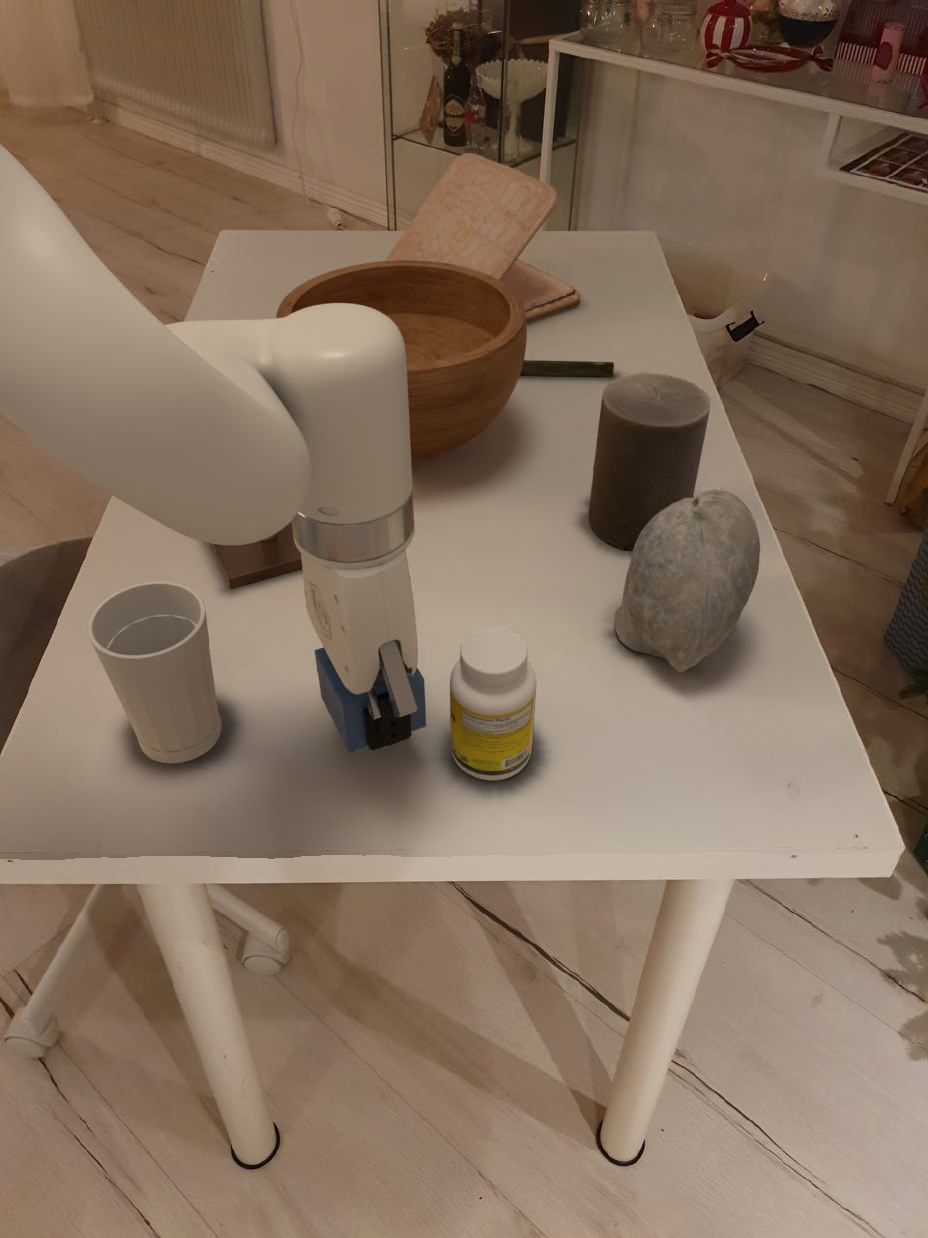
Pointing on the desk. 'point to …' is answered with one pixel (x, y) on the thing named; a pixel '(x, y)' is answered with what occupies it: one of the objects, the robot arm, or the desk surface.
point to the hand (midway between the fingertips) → (372, 708)
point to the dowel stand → (259, 558)
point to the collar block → (359, 702)
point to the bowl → (437, 340)
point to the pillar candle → (645, 452)
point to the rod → (567, 368)
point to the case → (487, 229)
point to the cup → (160, 667)
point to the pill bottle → (492, 704)
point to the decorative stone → (689, 578)
